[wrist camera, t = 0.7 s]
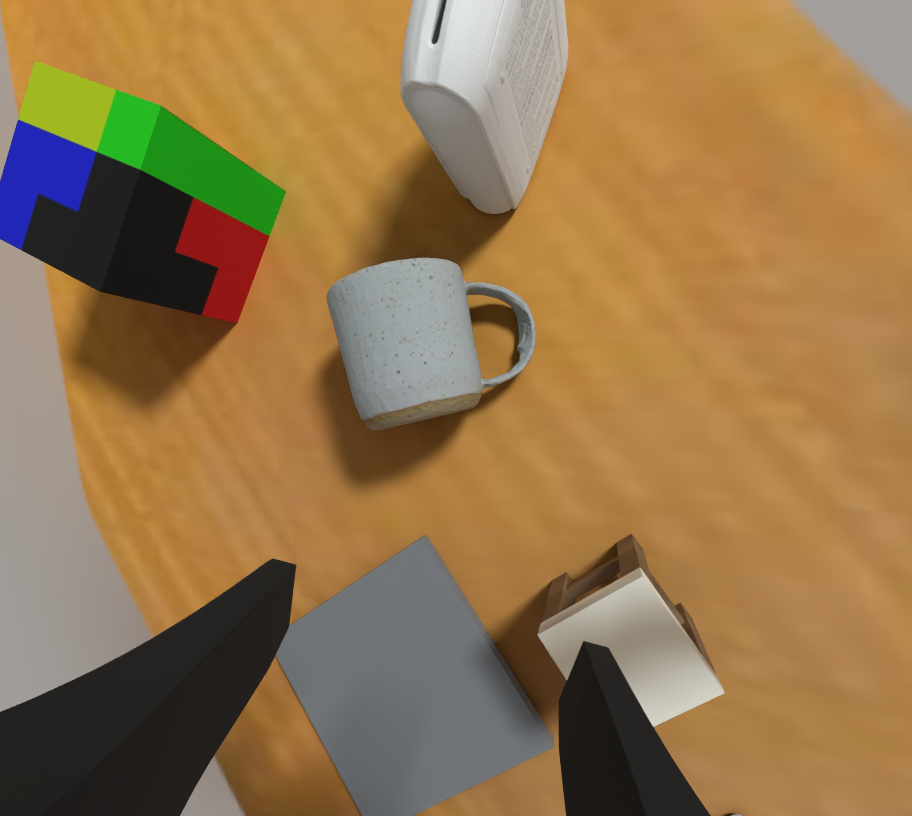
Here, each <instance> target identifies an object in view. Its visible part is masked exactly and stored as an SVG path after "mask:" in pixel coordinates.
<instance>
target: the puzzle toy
mask: <svg viewBox="0 0 912 816" xmlns="http://www.w3.org/2000/svg"><path fill="white" fill-rule="evenodd" d="M285 193H286V191H285V190H283V189H282V188H280V187H279V186H277V185H276V184H274V183H273V182H271V181H270V180H269V179H267V178H266V177H264V176H263V175H261V174H260V173H258V172H257V171H255V170H254V169H253V168H251V167H250V166H248V165H247V164H245V163H244V162H242V161H241V160H239V159H238V158H237V157H235V156H234V155H232V154H231V153H229V152H228V151H226V150H225V149H223V148H222V147H221V146H219V145H218V144H216V143H215V142H213V141H212V140H210V139H209V138H207V137H206V136H204V135H203V134H202V133H200V132H199V131H197V130H196V129H194V128H193V127H191V126H190V125H188V124H187V123H186V122H184V121H183V120H181V119H180V118H178V117H177V116H175V115H174V114H172V113H171V112H170V111H168V110H167V109H165V108H164V107H162V106H160V105H158V104H155V103H152V102H149V101H146V100H144V99H141V98H138V97H135V96H132V95H129V94H127V93H124V92H121V91H118V90H115V89H113V88H110V87H107V86H104V85H101V84H99V83H96V82H93V81H90V80H87V79H84V78H82V77H79V76H76V75H73V74H70V73H68V72H65V71H62V70H59V69H56V68H54V67H51V66H48V65H45V64H42V63H39V62H37V61H35V63H34V67H33V70H32V73H31V77H30V80H29V84H28V87H27V91H26V94H25V97H24V101H23V104H22V108H21V111H20V115H19V118H18V122H17V125H16V129H15V132H14V135H13V139H12V142H11V146H10V149H9V153H8V156H7V159H6V163H5V166H4V170H3V173H2V177H1V180H0V239H1V240H3V241H5V242H7V243H9V244H11V245H12V246H14V247H16V248H18V249H20V250H22V251H24V252H26V253H28V254H30V255H31V256H33V257H35V258H37V259H39V260H41V261H43V262H45V263H47V264H49V265H50V266H52V267H54V268H56V269H58V270H60V271H62V272H64V273H66V274H68V275H69V276H71V277H73V278H75V279H77V280H79V281H81V282H83V283H85V284H87V285H88V286H90V287H92V288H94V289H96V290H98V291H100V292H104V293H108V294H112V295H117V296H121V297H125V298H130V299H134V300H138V301H143V302H147V303H151V304H156V305H160V306H164V307H169V308H173V309H177V310H182V311H186V312H190V313H195V314H199V315H203V316H208V317H212V318H216V319H221V320H225V321H229V322H234V323H238V320H239V317H240V315H241V312H242V309H243V306H244V304H245V301H246V298H247V296H248V293H249V290H250V287H251V285H252V282H253V279H254V277H255V274H256V271H257V269H258V266H259V263H260V260H261V258H262V255H263V252H264V250H265V247H266V244H267V241H268V239H269V236H270V233H271V231H272V228H273V225H274V222H275V220H276V217H277V214H278V212H279V209H280V206H281V203H282V201H283V198H284V195H285Z"/></svg>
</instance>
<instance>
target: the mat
mask: <svg viewBox="0 0 912 816" xmlns="http://www.w3.org/2000/svg"><path fill="white" fill-rule="evenodd" d="M276 657H277V659H278V661H279V663H280V665H281V667H282V668H283V670H284V672H285V674H286V676H287V678H288V679H289V681H290V683H291V685H292V687H293V689H294V691H295V692H296V694H297V696H298V698H299V700H300V702H301V704H302V705H303V707H304V709H305V711H306V713H307V715H308V717H309V718H310V720H311V722H312V724H313V726H314V728H315V730H316V731H317V733H318V735H319V737H320V739H321V741H322V743H323V744H324V746H325V748H326V750H327V752H328V754H329V755H330V757H331V759H332V761H333V763H334V765H335V767H336V768H337V770H338V772H339V774H340V776H341V778H342V780H343V781H344V783H345V785H346V787H347V789H348V791H349V793H350V794H351V796H352V798H353V800H354V802H355V804H356V806H357V807H358V809H359V811H360V813H361V815H362V816H413V815H415V814H417V813H419V812H422V811H424V810H426V809H428V808H430V807H432V806H434V805H436V804H438V803H440V802H442V801H444V800H446V799H448V798H450V797H452V796H454V795H457V794H459V793H461V792H463V791H465V790H467V789H469V788H471V787H473V786H475V785H477V784H479V783H481V782H483V781H485V780H487V779H489V778H491V777H494V776H496V775H498V774H500V773H502V772H504V771H506V770H508V769H510V768H512V767H514V766H516V765H518V764H520V763H522V762H524V761H526V760H528V759H531V758H533V757H535V756H537V755H539V754H541V753H543V752H545V751H547V750H549V749H551V748H553V741H554V738H553V736H552V735H551V733H550V731H549V730H548V728H547V727H546V725H545V723H544V722H543V720H542V719H541V717H540V716H539V714H538V712H537V711H536V709H535V708H534V706H533V704H532V703H531V701H530V700H529V698H528V696H527V695H526V693H525V692H524V690H523V688H522V687H521V685H520V684H519V682H518V680H517V679H516V677H515V676H514V674H513V672H512V671H511V669H510V668H509V666H508V664H507V663H506V661H505V660H504V658H503V656H502V655H501V653H500V652H499V650H498V649H497V647H496V645H495V644H494V642H493V641H492V639H491V637H490V636H489V634H488V633H487V631H486V629H485V628H484V626H483V625H482V623H481V621H480V620H479V618H478V617H477V615H476V613H475V612H474V610H473V609H472V607H471V605H470V604H469V602H468V601H467V599H466V597H465V596H464V594H463V593H462V591H461V589H460V588H459V586H458V585H457V583H456V582H455V580H454V578H453V577H452V575H451V574H450V572H449V570H448V569H447V567H446V566H445V564H444V562H443V561H442V559H441V558H440V556H439V554H438V553H437V551H436V550H435V548H434V546H433V545H432V543H431V542H430V540H429V538H428V537H427V535H425V536H423V537H422V538H420V539H419V540H417V541H416V542H414V543H413V544H411V545H410V546H408V547H407V548H405V549H404V550H402V551H401V552H399V553H398V554H396V555H395V556H393V557H392V558H390V559H389V560H387V561H386V562H384V563H383V564H381V565H380V566H378V567H377V568H375V569H374V570H372V571H371V572H369V573H368V574H366V575H365V576H363V577H362V578H360V579H359V580H357V581H356V582H354V583H353V584H351V585H350V586H348V587H347V588H345V589H344V590H342V591H341V592H339V593H338V594H336V595H335V596H333V597H332V598H330V599H329V600H327V601H326V602H324V603H323V604H321V605H320V606H318V607H317V608H315V609H314V610H312V611H311V612H309V613H308V614H306V615H305V616H303V617H302V618H300V619H299V620H297V621H296V622H294V623H293V624H291V625H290V626H289V628H288V630H287V633H286V635H285V637H284V639H283V641H282V643H281V645H280V647H279V649H278V651H277V653H276Z"/></svg>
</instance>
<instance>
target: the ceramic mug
mask: <svg viewBox="0 0 912 816" xmlns="http://www.w3.org/2000/svg"><path fill="white" fill-rule="evenodd" d="M466 295H486V296H490V297H494V298H498V299H500V300H502V301H504V302H506V303H507V304H508V305H510V306H511V307H512V309H513V311H514V313H515V314H516V317H517V324H518V331H519V344H518V346H517V350H518V352H519V353H520V356H519V360H518V362H517V363H516V364H515V365H514V366H513V368H512V369H511V370H510V371H509V372H507V373H505V374H502V375H500V376H498V377H495V378H490V379H488V380H487V379H482V378H481V372H480V366H479V361H478V356H477V352H476V347H475V343H474V337H473V331H472V323H471V318H470V311H469V307H468V300H467V296H466ZM327 303H328V307H329V311H330V314H331V318H332V321H333V324H334V329H335V332H336V336H337V340H338V343H339V347H340V351H341V355H342V359H343V362H344V365H345V369H346V373H347V377H348V381H349V385H350V389H351V393H352V397H353V400H354V403H355V406H356V408H357V410H358V412H359V415H360V417H361V419H362V421H363V423H364V424H365V425H366V426H367V427H368V428H370V429H372V430H383V429H387V428H392V427H397V426H401V425H405V424H409V423H414V422H418V421H422V420H427V419H431V418H435V417H440V416H444V415H448V414H452V413H456V412H460V411H464V410H468V409H472V408H474V407H475V406H476V405H477V404H478V402H479V401H480V399H481V393H482V390H483V389H484V388H488V387H493V386H496V385H499V384H501V383H503V382H505V381H507V380H509V379H511V378H513V377H514V376H516V375H517V374H519V373H520V372H521V371H522V370H523V369H524V368H525V366H526V365H527V364H528V362H529V361H530V359H531V356H532V354H533V351H534V348H535V342H536V332H535V324H534V319H533V317H532V314H531V311H530V309H529V307H528V305H527V304H526V303H525V302H524V300H523V299H521V298H520V297H519V296H518V295H516V294H515V293H513V292H512V291H510V290H508V289H506V288H504V287H502V286H498V285H493V284H488V283H480V282H469V283H466V282H465V281H464V279H463V275H462V271H461V269H460V267H459V266H458V265H457V264H455V263H454V262H452V261H449V260H444V259H437V258H412V259H406V260H396V261H390V262H385V263H381V264H378V265H374V266H370V267H367V268H364V269H361V270H359V271H357V272H354V273H352V274H350V275H348V276H345V277H343V278H342V279H340V280H338V281H337V282H335V283H334V284H333V285H332V286H331V288H330V289H329V291H328V293H327Z"/></svg>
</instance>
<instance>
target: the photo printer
mask: <svg viewBox="0 0 912 816" xmlns="http://www.w3.org/2000/svg"><path fill="white" fill-rule="evenodd" d="M567 59H568V39H567V28H566V17H565V6H564V0H413V1H412V5H411V10H410V14H409V19H408V24H407V30H406V36H405V41H404V49H403V55H402V65H401V97H402V101H403V103H404V105H405V107H406V108H407V110H408V111H409V113H410V115H411V116H412V118H413V120H414V121H415V123H416V125H417V126H418V128H419V129H420V131H421V133H422V134H423V136H424V137H425V139H426V141H427V142H428V144H429V145H430V147H431V149H432V150H433V152H434V153H435V155H436V157H437V158H438V160H439V161H440V163H441V164H442V166H443V168H444V169H445V171H446V172H447V174H448V176H449V177H450V179H451V180H452V182H453V183H454V185H455V186H456V188H457V189H458V191H459V193H460V194H461V195H462V196H463V197H464V198H468V199H469V200H470V201H471V203H472V204H473V205H474V206H475V207H476V208H477V209H479V210H480V211H482V212H485V213H489V214H499V213H504V212H507V211H509V210H510V209H511V208H512V209H516V208H517V206H518V205H519V203H520V201H521V199H522V197H523V195H524V193H525V191H526V189H527V186H528V184H529V181H530V178H531V176H532V173H533V171H534V168H535V165H536V162H537V159H538V156H539V154H540V151H541V148H542V145H543V142H544V139H545V136H546V133H547V130H548V127H549V124H550V121H551V118H552V115H553V112H554V109H555V106H556V103H557V100H558V97H559V94H560V90H561V87H562V84H563V80H564V76H565V72H566V66H567Z"/></svg>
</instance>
